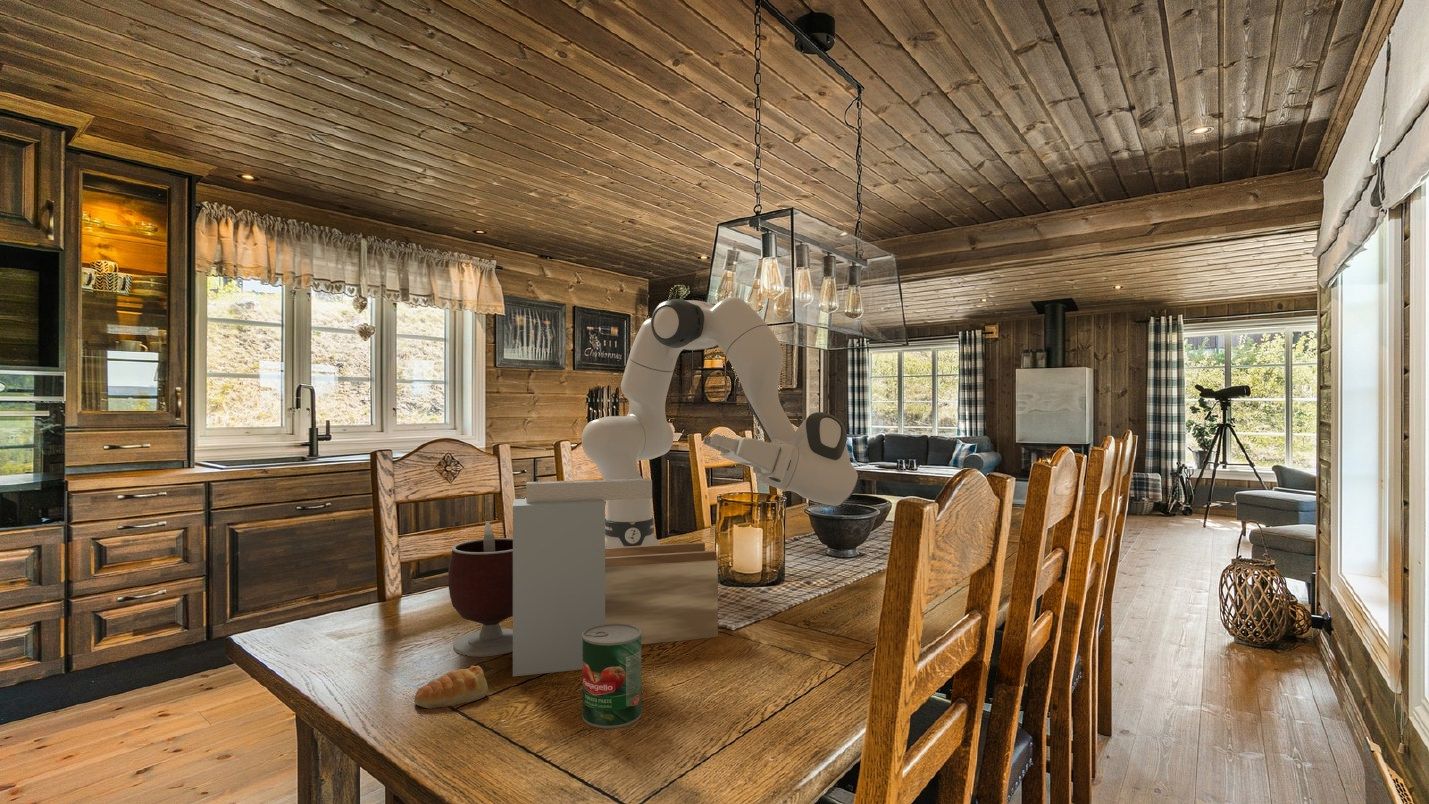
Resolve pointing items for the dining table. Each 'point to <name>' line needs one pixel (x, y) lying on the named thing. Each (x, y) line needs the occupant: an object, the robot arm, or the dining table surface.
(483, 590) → the mate gourd
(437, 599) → the dining table surface
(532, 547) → the grey tall block
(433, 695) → the pastry
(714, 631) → the cradle block
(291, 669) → the dining table surface
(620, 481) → the bar
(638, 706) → the canned tomato
